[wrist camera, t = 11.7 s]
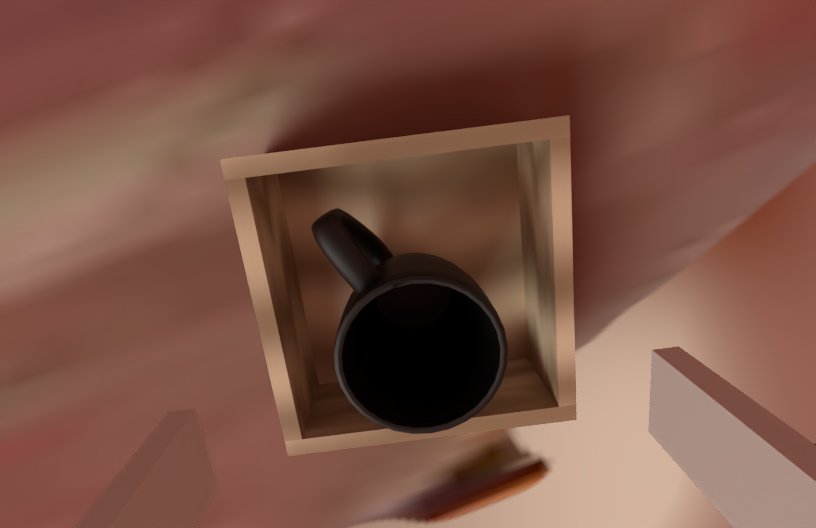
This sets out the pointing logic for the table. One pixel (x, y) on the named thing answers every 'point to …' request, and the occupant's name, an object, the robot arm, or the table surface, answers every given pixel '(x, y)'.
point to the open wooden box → (413, 233)
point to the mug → (410, 333)
